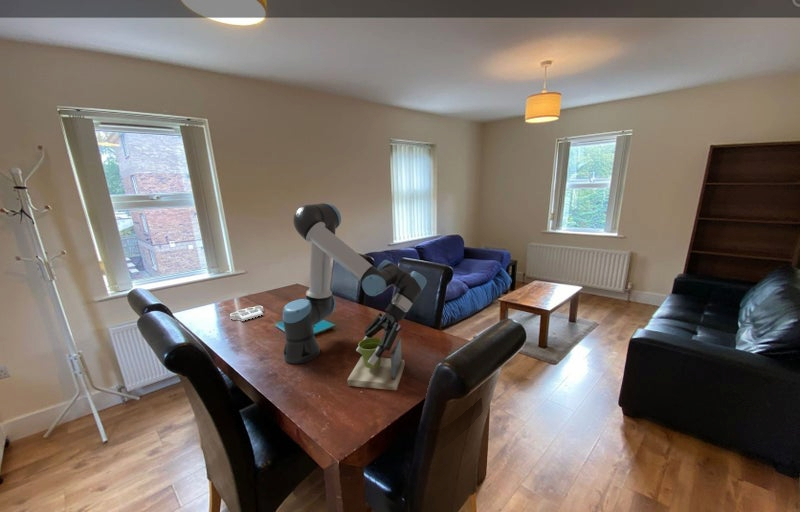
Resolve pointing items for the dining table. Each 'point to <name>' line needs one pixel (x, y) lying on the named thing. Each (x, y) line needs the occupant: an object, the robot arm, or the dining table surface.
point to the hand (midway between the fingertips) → (364, 357)
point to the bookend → (396, 359)
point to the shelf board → (375, 375)
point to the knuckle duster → (247, 313)
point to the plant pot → (369, 350)
